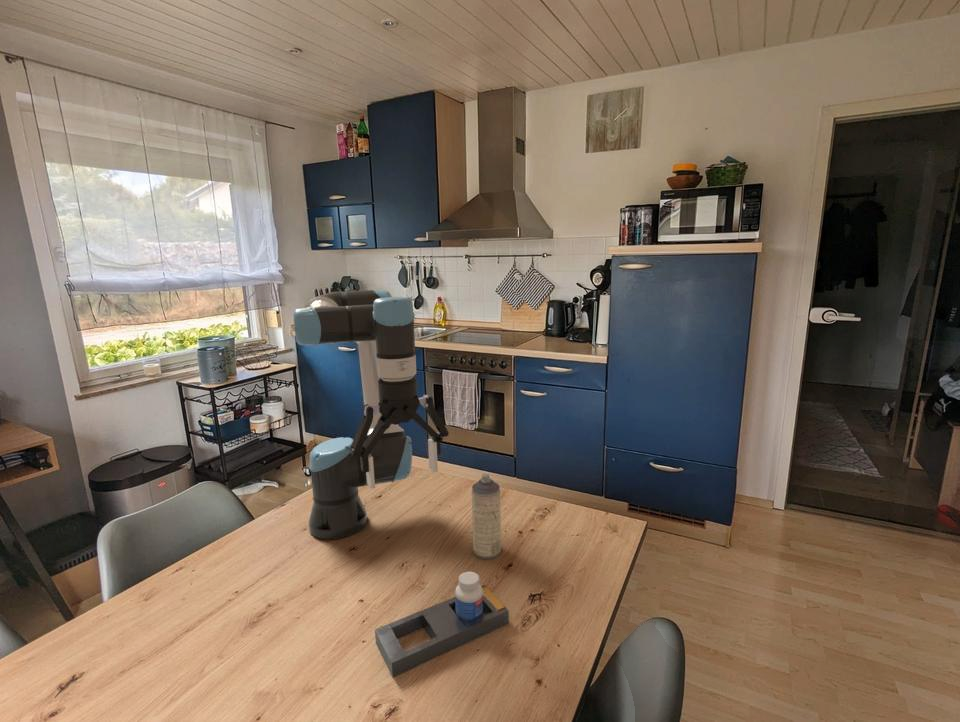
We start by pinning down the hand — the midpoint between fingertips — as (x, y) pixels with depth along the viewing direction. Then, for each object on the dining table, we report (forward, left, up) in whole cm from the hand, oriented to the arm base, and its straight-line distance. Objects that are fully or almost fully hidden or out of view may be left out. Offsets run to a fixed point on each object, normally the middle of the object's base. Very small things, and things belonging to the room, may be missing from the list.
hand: (403, 477), depth 100 cm
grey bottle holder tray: (+15, +1, -27) cm, 30 cm away
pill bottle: (+15, +7, -27) cm, 31 cm away
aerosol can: (-4, +22, -27) cm, 35 cm away
